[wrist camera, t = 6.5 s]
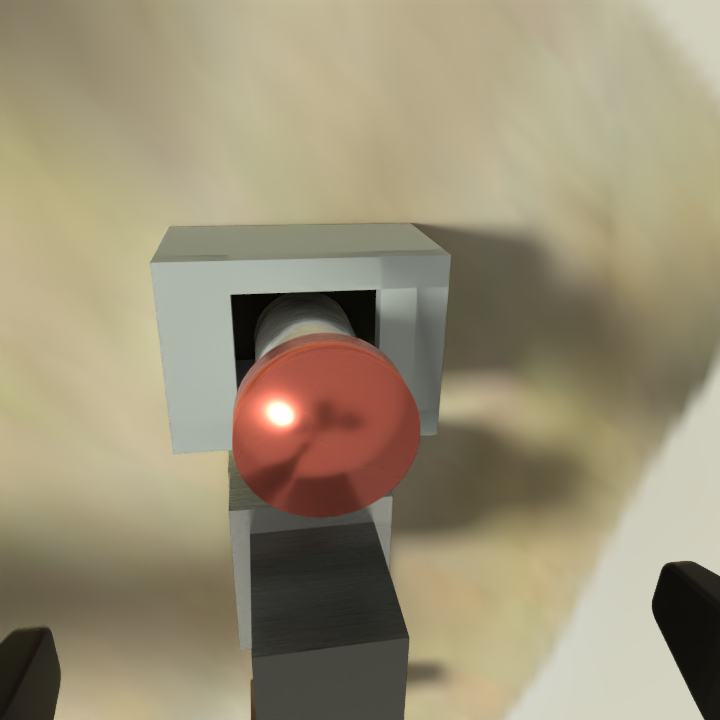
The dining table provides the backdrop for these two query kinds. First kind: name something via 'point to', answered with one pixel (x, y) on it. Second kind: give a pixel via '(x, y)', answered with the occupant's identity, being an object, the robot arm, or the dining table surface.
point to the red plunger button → (320, 413)
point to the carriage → (318, 610)
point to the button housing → (284, 275)
